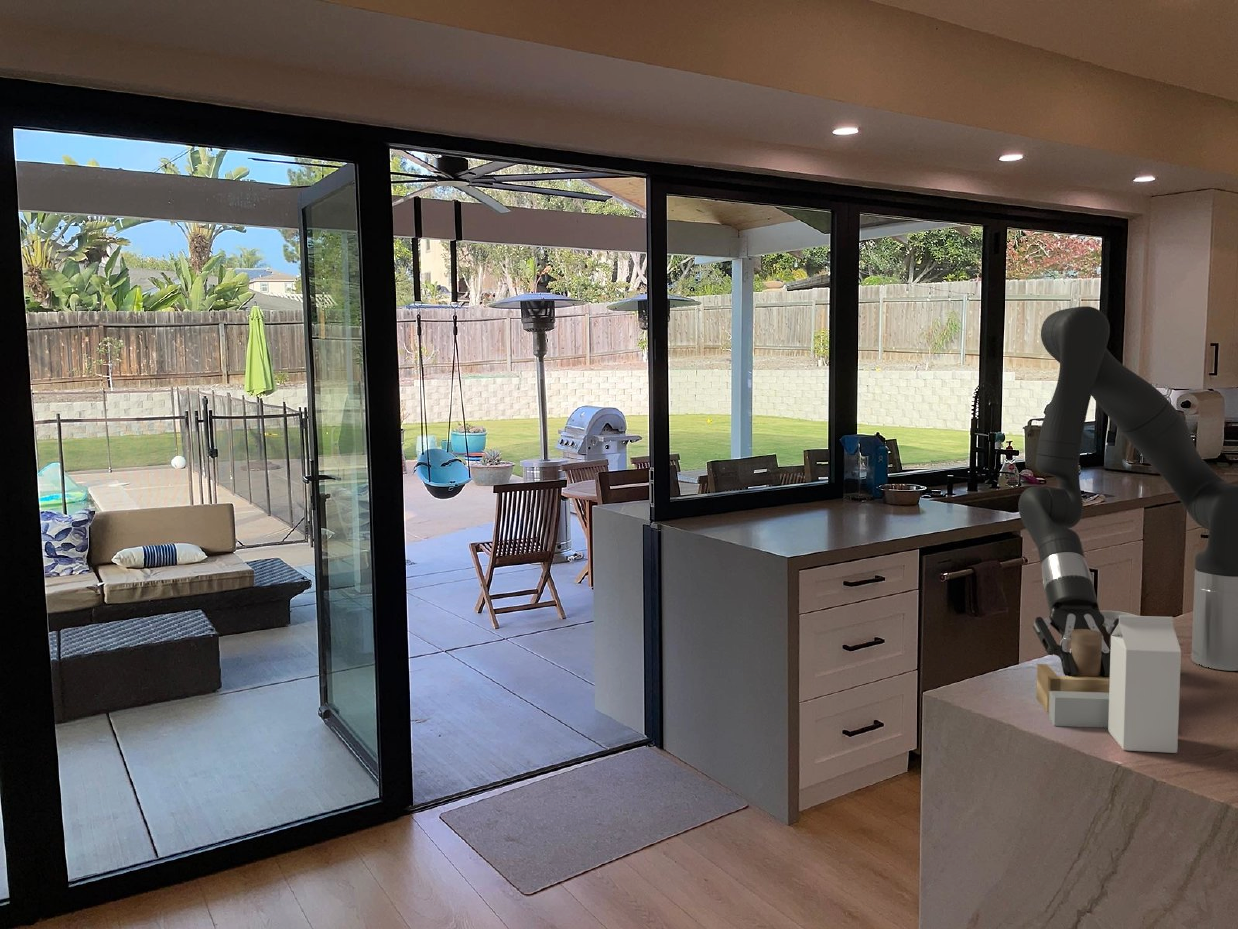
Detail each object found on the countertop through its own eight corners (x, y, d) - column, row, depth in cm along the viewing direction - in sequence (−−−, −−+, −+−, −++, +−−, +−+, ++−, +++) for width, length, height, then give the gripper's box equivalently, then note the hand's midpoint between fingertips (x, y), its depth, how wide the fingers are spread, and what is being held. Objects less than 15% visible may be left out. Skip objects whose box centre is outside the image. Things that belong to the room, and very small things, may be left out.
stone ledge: (1144, 721, 144) (1145, 693, 144) (1152, 729, 142) (1153, 700, 141) (1048, 718, 147) (1049, 690, 146) (1054, 725, 144) (1055, 697, 143)
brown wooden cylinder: (1094, 700, 152) (1096, 629, 151) (1103, 710, 148) (1106, 637, 147) (1066, 700, 153) (1067, 628, 152) (1074, 709, 149) (1076, 636, 148)
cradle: (1120, 701, 153) (1121, 666, 153) (1137, 718, 146) (1139, 681, 145) (1036, 699, 155) (1037, 664, 155) (1049, 715, 148) (1050, 679, 147)
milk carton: (1177, 754, 133) (1182, 624, 131) (1123, 751, 134) (1127, 622, 132) (1159, 734, 139) (1163, 610, 138) (1107, 732, 141) (1111, 609, 139)
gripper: (1028, 573, 157) (1047, 665, 146) (1119, 574, 155) (1145, 668, 144) (1019, 596, 163) (1037, 687, 152) (1107, 597, 160) (1131, 689, 150)
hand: (1089, 677), depth 148 cm, fingers closed on brown wooden cylinder, 4 cm apart
